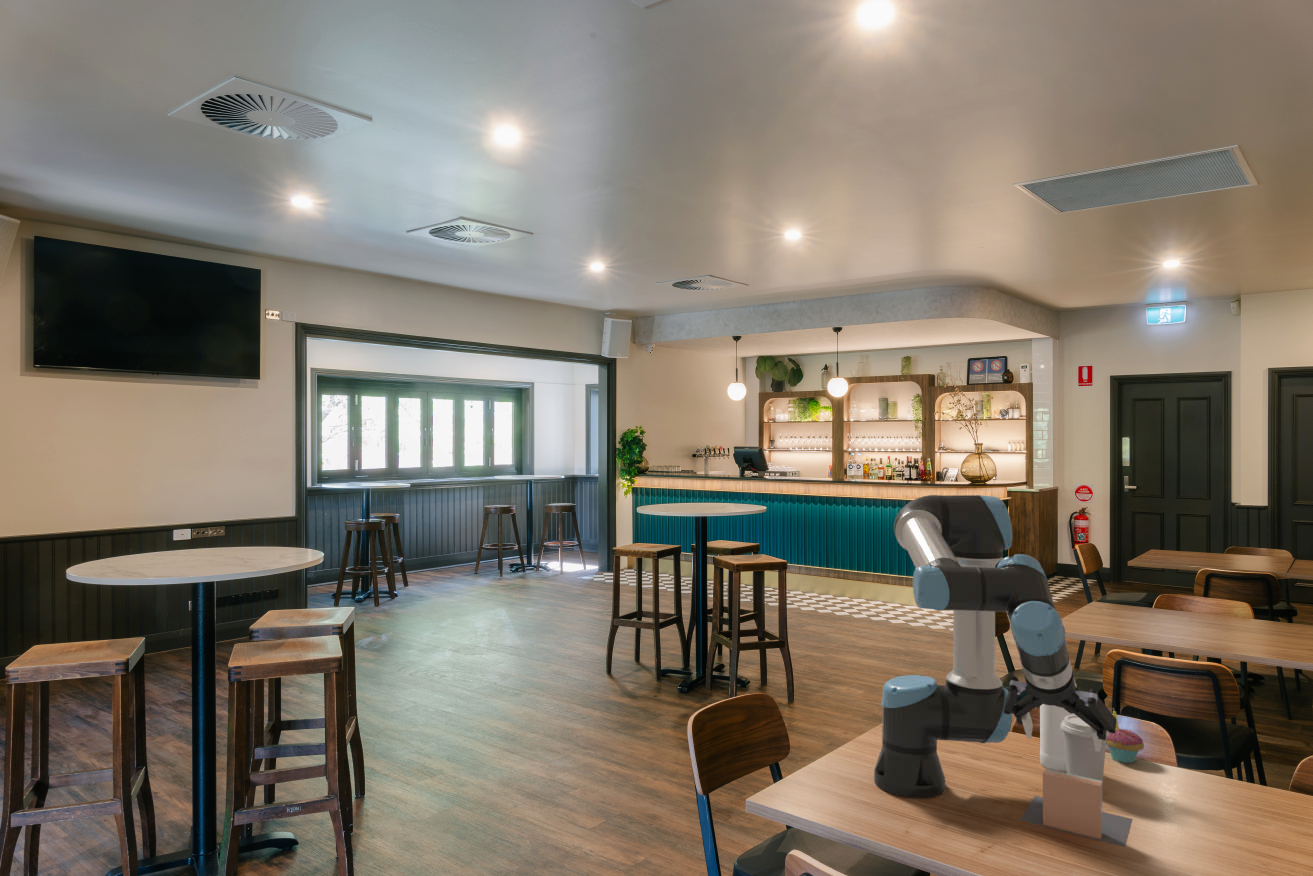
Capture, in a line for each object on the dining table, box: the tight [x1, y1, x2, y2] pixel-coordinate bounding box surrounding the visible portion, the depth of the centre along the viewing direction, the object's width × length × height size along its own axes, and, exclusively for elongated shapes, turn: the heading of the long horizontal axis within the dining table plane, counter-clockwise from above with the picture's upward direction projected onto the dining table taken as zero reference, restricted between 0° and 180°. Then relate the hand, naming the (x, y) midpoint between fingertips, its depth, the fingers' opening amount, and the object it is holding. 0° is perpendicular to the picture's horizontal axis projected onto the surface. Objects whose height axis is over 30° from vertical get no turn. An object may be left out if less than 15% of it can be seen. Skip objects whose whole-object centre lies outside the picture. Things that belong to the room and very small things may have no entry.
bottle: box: [1039, 643, 1078, 773], centre depth 187 cm, size 8×8×30 cm
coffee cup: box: [1060, 715, 1109, 785], centre depth 174 cm, size 10×10×15 cm
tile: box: [1042, 768, 1104, 839], centre depth 154 cm, size 10×3×10 cm, turn 54°
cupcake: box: [1106, 707, 1145, 764], centre depth 191 cm, size 9×8×12 cm
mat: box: [1020, 795, 1133, 848], centre depth 158 cm, size 18×14×1 cm
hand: (1063, 737), depth 146 cm, fingers open, 11 cm apart
